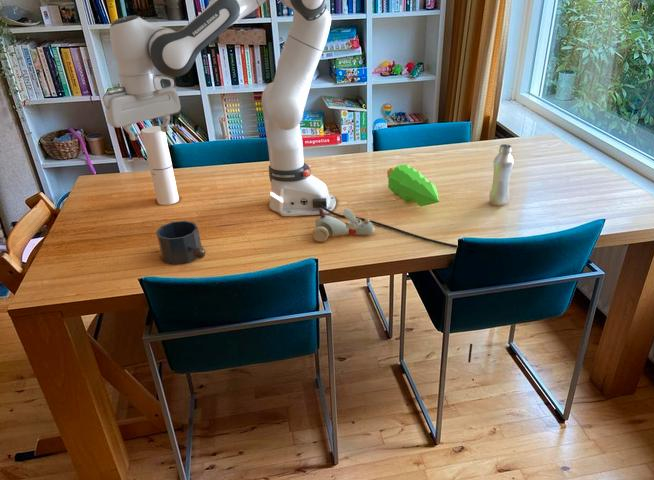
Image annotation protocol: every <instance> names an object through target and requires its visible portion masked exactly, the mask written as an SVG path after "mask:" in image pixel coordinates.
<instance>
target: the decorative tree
mask: <svg viewBox="0 0 654 480" xmlns="http://www.w3.org/2000/svg"><path fill="white" fill-rule="evenodd" d="M386 171H387V172H386V174H387V175H386V177H387V178H388V181H387V182H388V183H387V184H388V185H387V187H388V189H389V190H390V191H391V192H392V193H393V194H395V195H397V196H398V197H399V198H400V199H402V200H403V201H404V202H405V203H411V202H412V203H415V204H417V205H418V206H419V207H421V208H422V207H425V206H430V205H434V204H436V203H440V199H439V198H440V197H439V193H438V190H437V186H436V185H435V184H434V183H432V181H429V180H428V179H427V178H426V177H425V176H424V175H423V174H422V173H421V172H420V171H417V170H416V169H415V168H414V167H411V166H410V165H409V164H408V163H405V164H400V165H396V166H395V167H390V168H389V169H388V170H386Z"/></svg>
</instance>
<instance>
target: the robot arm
mask: <svg viewBox="0 0 654 480" xmlns="http://www.w3.org/2000/svg"><path fill="white" fill-rule="evenodd" d="M266 1H267V0H210V1H209V3H208V5H207V6H206V8H205V9H204V10H203V11H202V12H200V13H199V14H198V15H197V16H196V17H194V19H192V20H191V21H190V22H188V23H187V24H186V25H185V26H184V27H182V28H181V29H178V30H177V31H176V30H174V29H171V28H169V27H164V26H160V25H157V24H154V23H151V22H149V21H147V20H146V19H143V18H141V16H139V15H135V14H134V15H126V16H121V17H119V18H117V19H115V20H113V22H112V23H110V26H109V37H110V38H109V39H110V44H111V49H112V53H113V57H114V59H115V61H116V64H117V74H118V78H119V84H120V87H118V88H117V87H116V88H114V89H108V90H106V92H105V93H103V96H102V102H103V105H104V107H105V114H106V121H107V123H108V124H109V125H110V126H111V127H114V128H123V130H124V131H125V132H126V133H127V134H128V135H129V140H131V141H133V142H134V141H138V140H139V137H138V136H139V135H138V133H137V132H135V131H133V130H132V129H133V125H134V124H137V123H142V122H145V121H150V120H153V119H157V118H162V124H160V125H159V126H160V128H161V131H162V132H165V133H166V132H169V131H170V129H169V125H170V121H171V115H173V114H177V113H180V111H181V107H182V105H181V100H180V97H179V94H178V91H177V89H176V87H174V86H175V81H174V79H173V78H178V77H181V76H184V75H186V74H187V73H188V72H189V71H190V70H191V69H192V67H193V65H194V63H195V61H196V59H197V58H198V56H199V54H200V53H201V52H202V51H203V50H204V49H205V48H206V47H207V46H208V45H209V44H211V43H212V42H213V41H214V40H215V39H216V38H218V37H219V36H220V35H221V34H222V33H224V32H225V30H227V29H228V28H229V27H231V26H233V25H234V24H235V23H237V22H239V21H241V20H242V19H244V18H245V17H247V16H248V15H250V14H251V13H253V12H254V11H255V10H257V9H258V8H260V7H261V6H262V5H263V4H264V3H265V2H266ZM277 1H278V2H280V3H281V4H283V5H284V6H285V7H287V8H288V9H291V10H292V15H293V16H292V24H291V26H290V28H289V30H288V34H287V36H286V39H285V41H284V43H283V47H282V49H281V52H280V55H279V58H278V61H277V67H276V71H275V75H274V78H273V81H272V82H270V83H268V84H267V85H266V86H265V87H264V89H263V91H262V94H261V107H262V114H263V121H264V128H265V135H266V141H267V150H268V159H269V165H268V176H269V181H270V197H269V204H268V207H269V209H271V210H272V211H274V212H276V213H278V214H279V215H280V216H281V217H297V216H298V217H299V216H317V215H318V216H319V215H320V212H319V209H320V208H321V209H322V210H323V212H324V214H325V215H328V214H331V215H334V216H336V217H339V218H343V219H347V218H346V217H345V216H344V215H343V214H341V213H336V212H335V211H333V210H334V209H335V208H336V205H337V200H336V199H337V198H336V197H335V196H334V195H333V194H330V193H329V189H328V186H327V184H326V182H324V181H322V180H321V179H319V178H317V177H316V176H315V175H313V174H312V173H311V171H312V170H311V167H312V166H311V163H309V164H307V163H305V160H304V159H305V158H304V144H303V137H302V131H301V123H302V120H303V117H304V112H305V108H306V105H307V101H308V97H309V93H310V90H311V85H312V82H313V78H314V75H315V73H316V70H317V67H318V64H319V62H320V59H321V57H322V55H323V52H324V50H325V47H326V44H327V41H328V37H329V34H330V29H331V25H332V16H331V13H330V11H329V10H328V9H327V6H328V5H327V3H328V0H277ZM154 68H155V69H156V70H157V71H158V72H159V73H161V74H162V75H160V74H156V73H155V70H154ZM163 75H164V76H163ZM355 217H356V218H358V219H360V220H361V221H362V222H365V219H366V218H363V217H359V216H355ZM369 222H371V223H372V224H373V225H376V226H380V227H383V228H387V229H389V230H393V231H395V232H399V233H401V234H404V235H408V236H410V237H413V238H416V239H420V240H423V241H426V242H430V243H434V244H439V245H442V246H446V247H450V248H456V249H458V248H457V245H458V244H452V243H449V242H443V241H440V240H435V239H432V238H428V237H424V236H421V235H417V234H416V233H415V234H414V233H412V232H408V231H406V230H402V229H400V228H396V227H394V226H392V225H391V226H390V225H388V224H384V223H381V222H378V221H374V220H371V219H369ZM472 350H473V343H470V344H469V351H468V359H467V363H468V364H470V363H471V362H472V361H471V360H472Z"/></svg>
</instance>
